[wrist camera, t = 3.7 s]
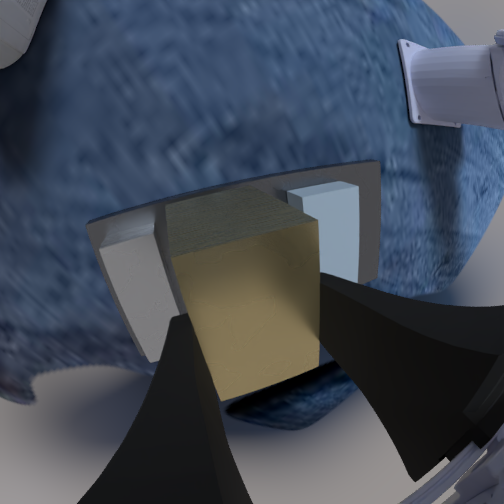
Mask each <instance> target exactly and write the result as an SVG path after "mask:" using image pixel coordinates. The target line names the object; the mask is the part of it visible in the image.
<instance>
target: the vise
mask: <svg viewBox="0 0 504 504" xmlns="http://www.w3.org/2000/svg"><path fill="white" fill-rule="evenodd" d="M337 181H342V182H346V183H349V184H353V185H356V186H359V264H358V284H364V283H366V282H369V281H371V280H373V279H376V278H377V274H378V262H379V247H380V225H381V174H380V161H377V160H363V161H354V162H346V163H338V164H331V165H324V166H317V167H311V168H304V169H298V170H292V171H286V172H280V173H275V174H269V175H264V176H259V177H254V178H249V179H244V180H239V181H234V182H230V183H225V184H220V185H216V186H212V187H207V188H203V189H199V190H195V191H190V192H186V193H182V194H178V195H175V196H171V197H167V198H163V199H159V200H156V201H152V202H149V203H145V204H141V205H138V206H134V207H131V208H128V209H124V210H121V211H118V212H114V213H111V214H108V215H105V216H102V217H99V218H96V219H93V220H90V221H89V222H88V223H87V224H86V225H85V226H86V229H87V232H88V235H89V238H90V241H91V244H92V247H93V249H94V252H95V255H96V258H97V260H98V263H99V266H100V268H101V271H102V273H103V276H104V278H105V281H106V283H107V286H108V288H109V290H110V293H111V295H112V297H113V299H114V302H115V304H116V306H117V308H118V310H119V313H120V315H121V317H122V319H123V321H124V323H125V325H126V327H127V329H128V331H129V333H130V335H131V337H132V339H133V341H134V343H135V345H136V347H137V349H138V350H139V352H140V354H141V356H144V355H146V356H147V358H148V360H149V362H150V363H151V362H155V361H159V359H160V356H161V353H162V350H163V346H164V343H165V339H166V335H167V331H168V327H169V321H170V319H171V318H172V317H174V316H177V315H181V314H185V313H188V312H187V309H186V306H185V303H184V300H183V296H182V293H181V290H180V287H179V284H178V280H177V277H176V274H175V270H174V267H173V264H172V260H171V255H170V247H169V239H168V230H167V220H166V210H165V205H167V204H171V203H175V202H179V201H183V200H187V199H191V198H195V197H199V196H203V195H208V194H212V193H217V192H221V191H226V190H230V189H235V188H240V187H245V186H252V187H254V188H256V189H258V190H260V191H263V192H265V193H267V194H269V195H271V196H273V197H275V198H277V199H279V200H281V201H283V202H285V203H287V204H288V198H287V191H289V190H294V189H299V188H304V187H310V186H315V185H320V184H326V183H331V182H337Z"/></svg>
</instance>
